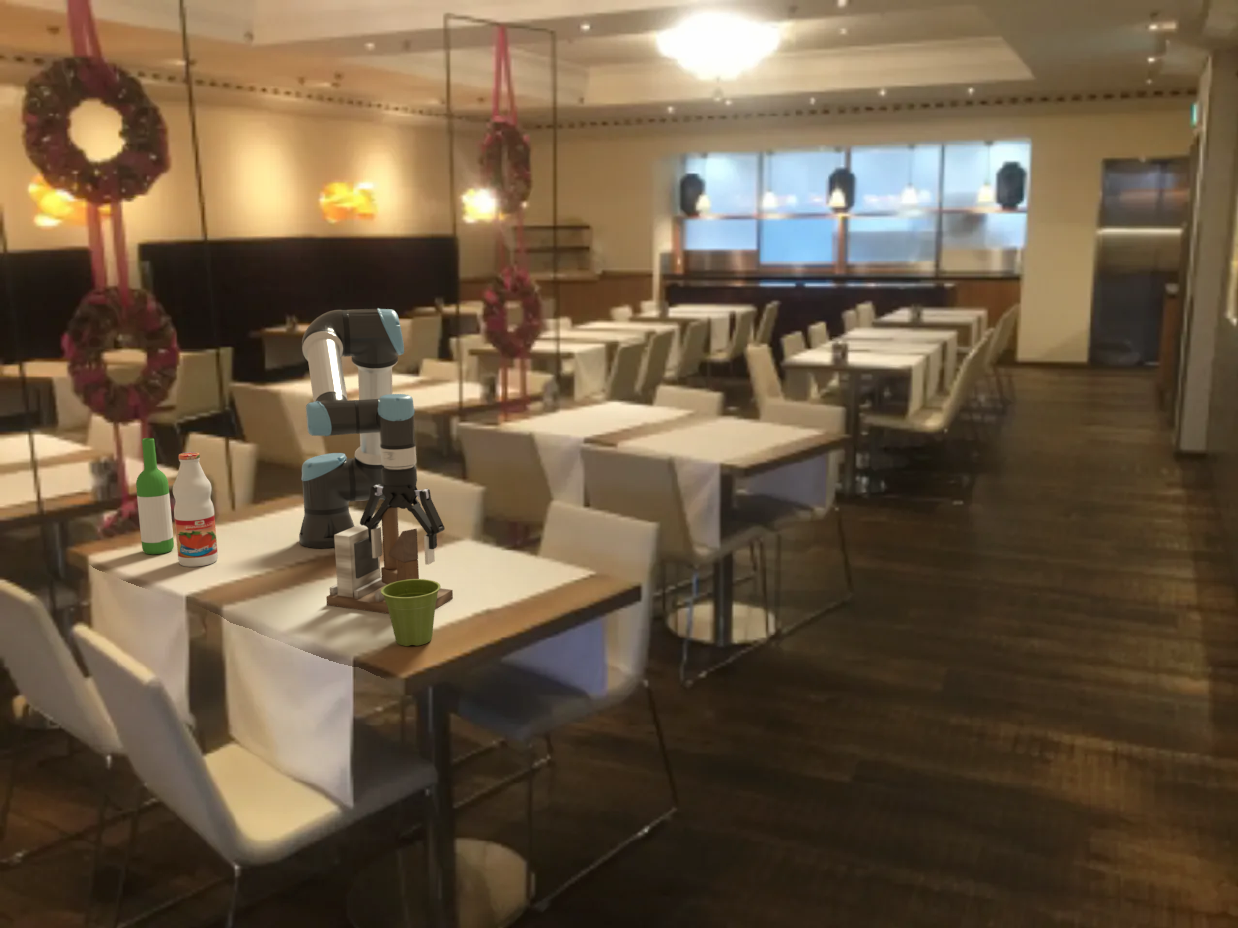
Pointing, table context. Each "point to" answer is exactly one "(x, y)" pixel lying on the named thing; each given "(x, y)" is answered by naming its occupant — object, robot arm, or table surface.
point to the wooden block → (398, 550)
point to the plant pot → (412, 609)
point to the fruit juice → (194, 514)
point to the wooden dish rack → (362, 574)
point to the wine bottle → (154, 504)
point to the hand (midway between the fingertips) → (403, 559)
